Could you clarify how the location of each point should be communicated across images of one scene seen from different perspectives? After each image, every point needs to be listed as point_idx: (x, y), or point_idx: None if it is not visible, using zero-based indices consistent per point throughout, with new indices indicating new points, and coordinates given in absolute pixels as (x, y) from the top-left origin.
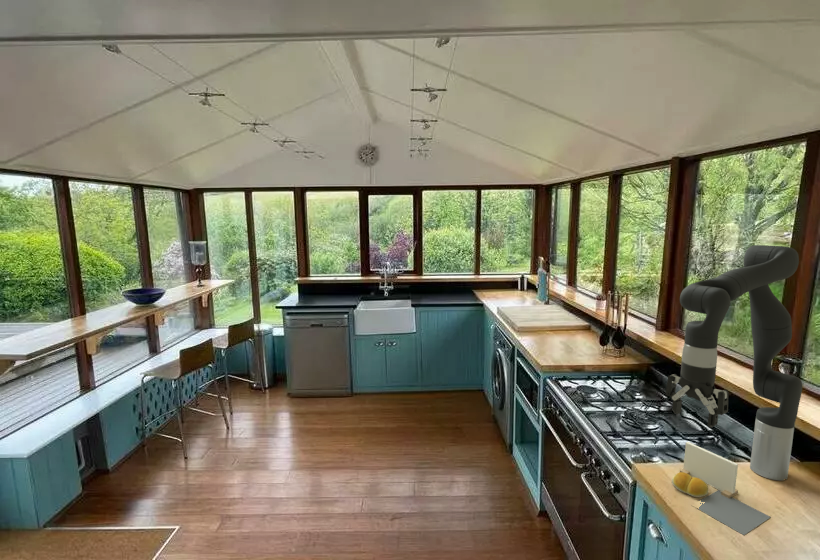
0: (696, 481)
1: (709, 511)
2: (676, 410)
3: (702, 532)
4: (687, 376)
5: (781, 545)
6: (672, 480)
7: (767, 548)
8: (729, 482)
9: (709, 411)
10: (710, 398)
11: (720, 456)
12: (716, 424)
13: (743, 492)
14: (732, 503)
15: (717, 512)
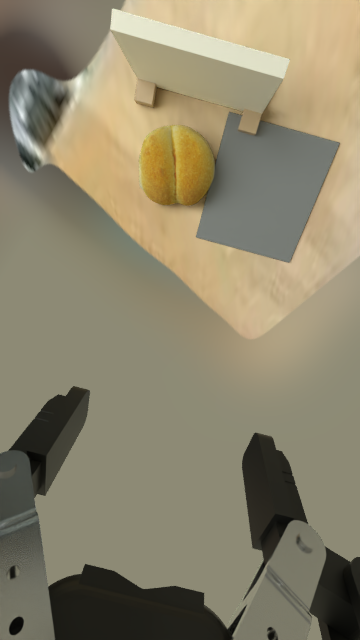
0: (188, 174)
1: (228, 232)
2: (74, 438)
3: (229, 306)
4: None
5: (348, 241)
6: (142, 188)
7: (324, 270)
8: (257, 102)
9: (259, 571)
10: (264, 633)
11: (231, 44)
12: (282, 458)
13: None
14: (263, 154)
15: (241, 223)
